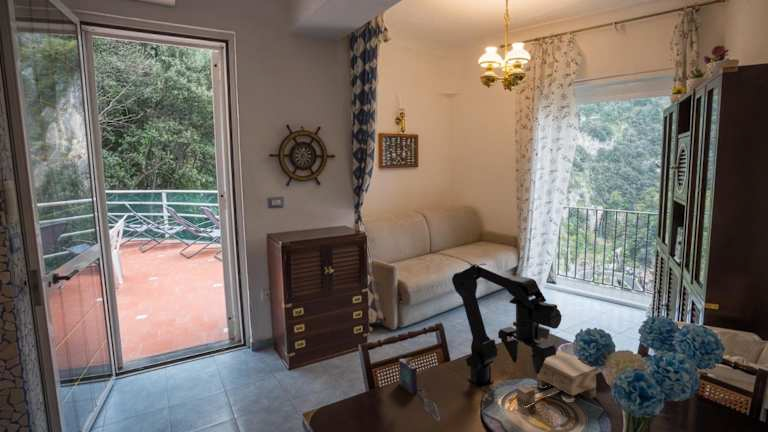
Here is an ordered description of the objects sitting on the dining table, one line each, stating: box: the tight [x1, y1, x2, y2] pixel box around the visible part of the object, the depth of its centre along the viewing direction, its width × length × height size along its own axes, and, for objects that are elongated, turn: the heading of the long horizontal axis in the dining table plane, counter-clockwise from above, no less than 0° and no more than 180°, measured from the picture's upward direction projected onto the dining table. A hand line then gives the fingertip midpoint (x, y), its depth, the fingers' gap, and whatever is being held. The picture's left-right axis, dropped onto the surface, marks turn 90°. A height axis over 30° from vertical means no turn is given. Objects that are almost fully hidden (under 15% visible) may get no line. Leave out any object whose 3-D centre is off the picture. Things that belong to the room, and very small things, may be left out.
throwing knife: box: [416, 387, 441, 423], centre depth 130 cm, size 4×20×1 cm, turn 14°
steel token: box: [560, 392, 576, 401], centre depth 129 cm, size 4×4×1 cm
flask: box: [398, 357, 419, 395], centre depth 140 cm, size 9×3×11 cm, turn 30°
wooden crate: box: [536, 350, 598, 400], centre depth 133 cm, size 12×15×10 cm
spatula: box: [516, 384, 561, 407], centre depth 130 cm, size 16×4×5 cm, turn 116°
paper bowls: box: [557, 342, 603, 375], centre depth 146 cm, size 15×15×8 cm
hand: (525, 367), depth 127 cm, fingers open, 9 cm apart
